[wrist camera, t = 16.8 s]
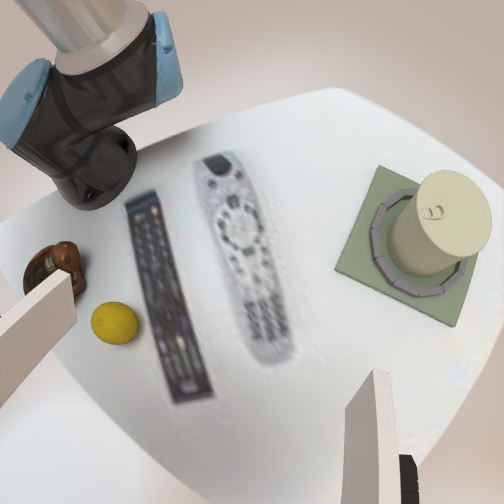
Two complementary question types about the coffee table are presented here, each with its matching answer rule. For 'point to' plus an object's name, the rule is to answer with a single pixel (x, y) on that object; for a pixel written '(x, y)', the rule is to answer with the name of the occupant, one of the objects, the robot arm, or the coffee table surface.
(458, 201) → the can
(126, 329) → the lemon
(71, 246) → the decorative turtle
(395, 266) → the deck mount
